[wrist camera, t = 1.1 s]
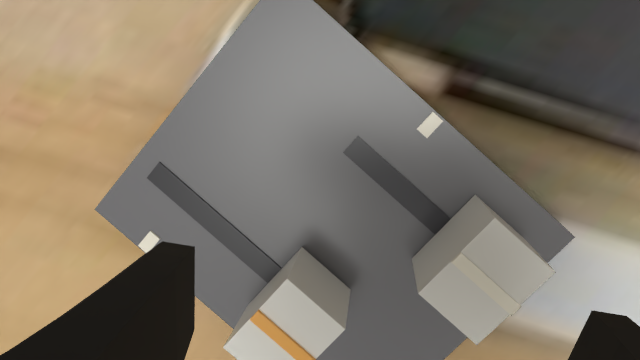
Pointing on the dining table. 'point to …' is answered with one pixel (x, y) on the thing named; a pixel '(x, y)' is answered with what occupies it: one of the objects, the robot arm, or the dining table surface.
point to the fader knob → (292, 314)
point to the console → (314, 181)
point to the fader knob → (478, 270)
